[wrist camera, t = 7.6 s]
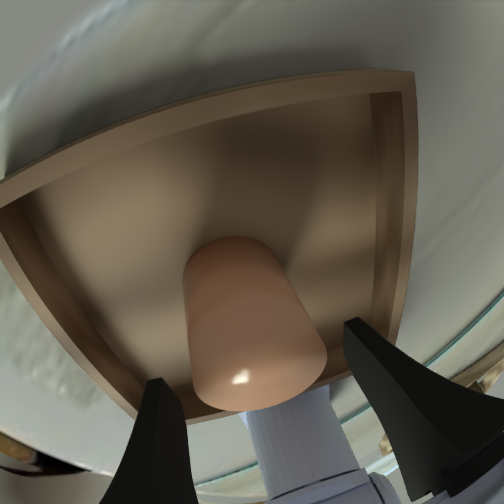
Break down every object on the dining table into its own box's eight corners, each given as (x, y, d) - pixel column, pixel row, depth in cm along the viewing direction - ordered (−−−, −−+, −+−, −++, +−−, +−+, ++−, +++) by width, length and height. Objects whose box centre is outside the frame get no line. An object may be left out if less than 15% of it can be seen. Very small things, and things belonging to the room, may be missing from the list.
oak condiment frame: (482, 383, 46) (487, 391, 44) (378, 446, 44) (383, 456, 42) (513, 333, 37) (520, 342, 35) (395, 411, 35) (403, 424, 33)
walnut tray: (373, 328, 22) (392, 356, 19) (147, 398, 20) (148, 431, 18) (373, 68, 12) (414, 71, 9) (3, 177, 10) (-29, 203, 8)
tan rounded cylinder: (284, 301, 17) (326, 387, 12) (198, 326, 17) (214, 421, 12) (273, 223, 14) (327, 310, 9) (168, 253, 14) (172, 355, 9)
